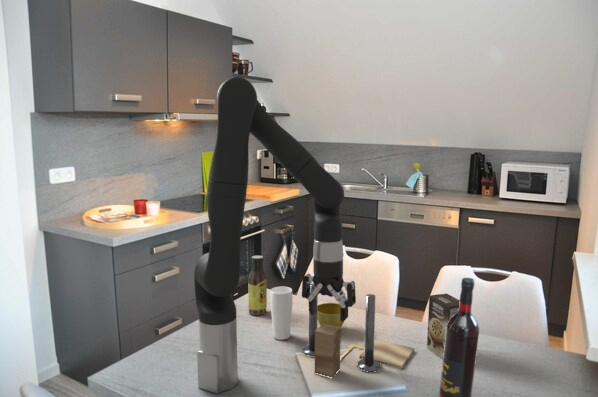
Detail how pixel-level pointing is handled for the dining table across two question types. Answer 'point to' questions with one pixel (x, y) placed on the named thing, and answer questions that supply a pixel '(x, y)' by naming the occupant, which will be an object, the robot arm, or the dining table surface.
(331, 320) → the flower pot
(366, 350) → the post right
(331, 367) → the walnut block
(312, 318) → the post left
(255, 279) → the sauce bottle
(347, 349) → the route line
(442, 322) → the coffee box
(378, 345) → the pad
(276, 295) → the drinking glass
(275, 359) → the dining table surface
